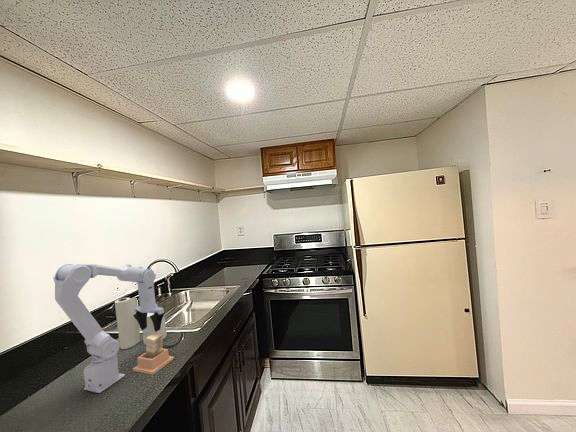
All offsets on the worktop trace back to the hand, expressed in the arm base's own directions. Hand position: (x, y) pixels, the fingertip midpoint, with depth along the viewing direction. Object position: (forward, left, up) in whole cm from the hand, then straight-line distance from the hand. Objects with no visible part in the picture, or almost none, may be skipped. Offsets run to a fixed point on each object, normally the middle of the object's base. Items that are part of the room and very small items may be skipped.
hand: (150, 329), depth 110 cm
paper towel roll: (+3, +18, -11) cm, 21 cm away
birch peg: (-6, -7, -9) cm, 13 cm away
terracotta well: (-6, -7, -10) cm, 14 cm away
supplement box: (+10, +10, -11) cm, 18 cm away
